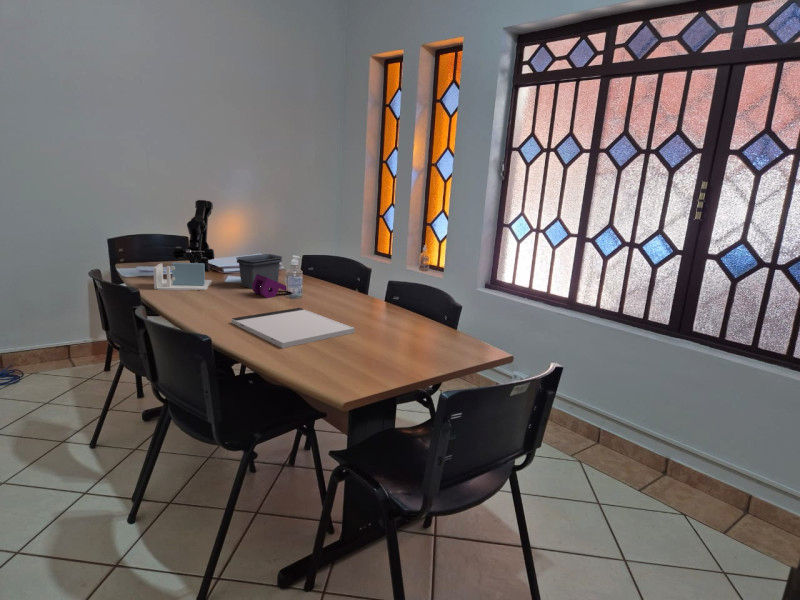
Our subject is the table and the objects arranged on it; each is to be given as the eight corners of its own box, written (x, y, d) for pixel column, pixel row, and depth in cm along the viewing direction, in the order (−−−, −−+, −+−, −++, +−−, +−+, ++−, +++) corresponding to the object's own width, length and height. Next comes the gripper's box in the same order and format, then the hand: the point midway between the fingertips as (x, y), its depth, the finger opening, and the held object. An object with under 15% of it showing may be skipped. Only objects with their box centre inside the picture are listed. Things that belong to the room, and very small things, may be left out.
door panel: (173, 283, 250) (172, 262, 247) (204, 284, 252) (204, 263, 250) (171, 285, 246) (170, 264, 243) (203, 286, 249) (203, 265, 246)
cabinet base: (164, 281, 259) (163, 259, 256) (211, 282, 263) (211, 261, 261) (154, 289, 241) (153, 267, 238) (205, 290, 245) (205, 268, 243)
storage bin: (250, 290, 251) (250, 261, 248) (230, 285, 260) (230, 256, 257) (285, 285, 268) (285, 257, 265) (265, 279, 277) (265, 252, 273)
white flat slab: (231, 318, 199) (300, 307, 221) (231, 324, 200) (300, 313, 222) (283, 342, 176) (354, 328, 197) (283, 349, 176) (354, 334, 198)
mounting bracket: (279, 302, 256) (249, 290, 243) (286, 286, 257) (256, 273, 244) (290, 307, 250) (260, 295, 237) (297, 290, 251) (267, 277, 238)
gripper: (216, 251, 274) (214, 277, 266) (178, 250, 270) (174, 276, 262) (214, 238, 264) (211, 264, 257) (174, 237, 261) (170, 263, 253)
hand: (192, 267), depth 258 cm, fingers closed
